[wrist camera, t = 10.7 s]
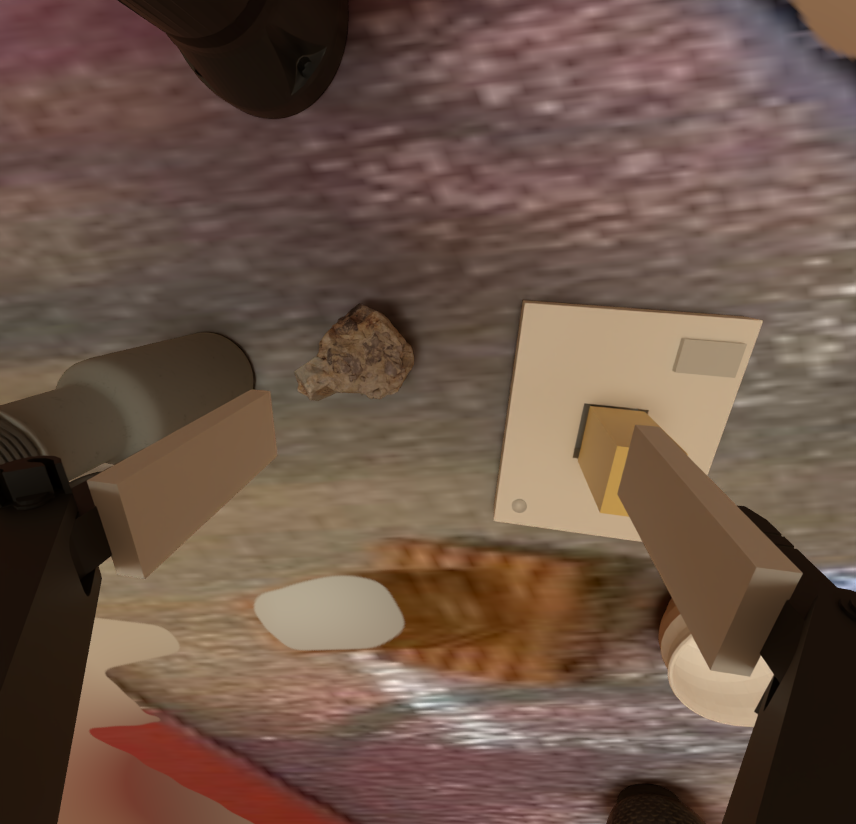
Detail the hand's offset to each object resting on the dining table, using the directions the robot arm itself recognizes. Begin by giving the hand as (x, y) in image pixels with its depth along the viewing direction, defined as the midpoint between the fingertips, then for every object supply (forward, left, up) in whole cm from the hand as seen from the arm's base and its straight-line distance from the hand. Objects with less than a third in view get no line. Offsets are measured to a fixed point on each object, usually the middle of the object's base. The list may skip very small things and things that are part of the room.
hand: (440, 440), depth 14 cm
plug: (+9, +14, -28) cm, 33 cm away
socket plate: (+9, +14, -28) cm, 33 cm away
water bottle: (+8, -29, -28) cm, 42 cm away
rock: (+4, -10, -29) cm, 31 cm away
